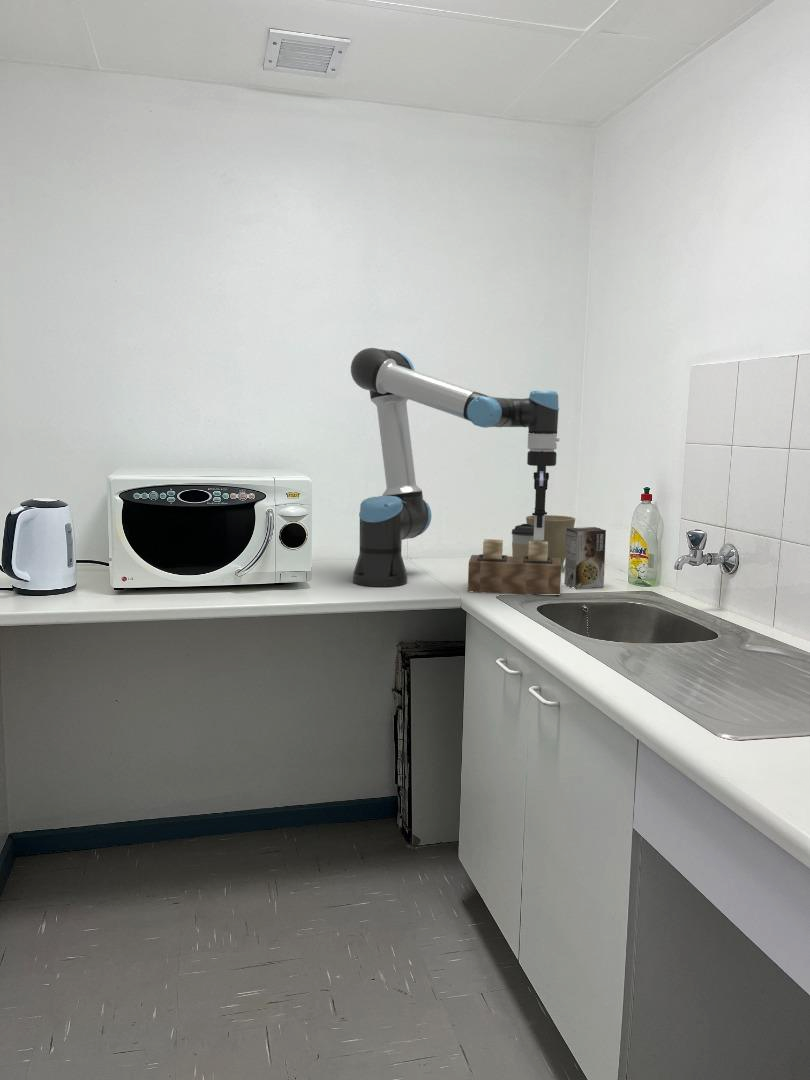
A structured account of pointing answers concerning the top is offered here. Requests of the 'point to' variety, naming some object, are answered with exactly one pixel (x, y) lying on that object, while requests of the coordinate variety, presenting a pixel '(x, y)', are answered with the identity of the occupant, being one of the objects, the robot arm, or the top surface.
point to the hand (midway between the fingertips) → (538, 539)
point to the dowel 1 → (492, 549)
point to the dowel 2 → (538, 551)
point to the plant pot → (555, 534)
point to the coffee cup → (522, 539)
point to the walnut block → (514, 575)
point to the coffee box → (585, 557)
